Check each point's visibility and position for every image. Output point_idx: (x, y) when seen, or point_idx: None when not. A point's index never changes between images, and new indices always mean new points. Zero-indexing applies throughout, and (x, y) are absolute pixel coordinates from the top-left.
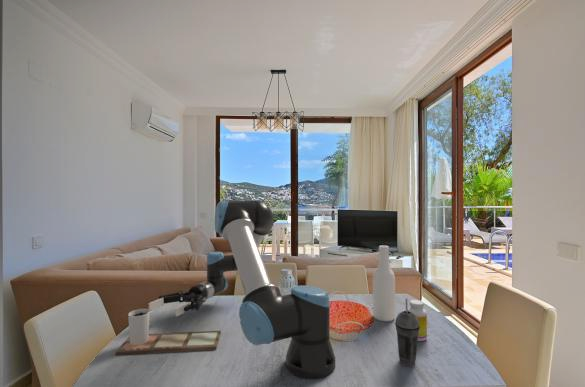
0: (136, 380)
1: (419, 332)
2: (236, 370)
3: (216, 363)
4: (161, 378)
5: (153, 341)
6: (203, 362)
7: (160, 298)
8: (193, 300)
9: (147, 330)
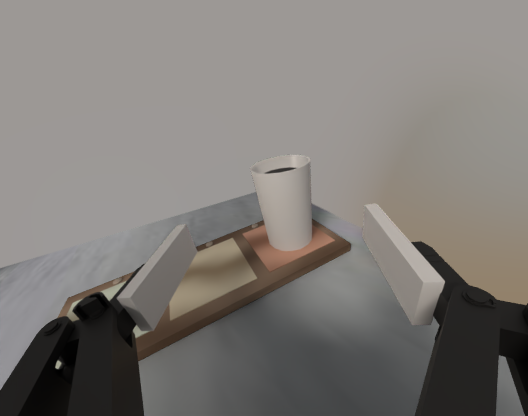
0: (209, 206)
1: None
2: (46, 267)
3: (83, 266)
4: (176, 218)
5: (253, 248)
6: (111, 259)
7: (497, 303)
8: (80, 371)
9: (263, 218)
